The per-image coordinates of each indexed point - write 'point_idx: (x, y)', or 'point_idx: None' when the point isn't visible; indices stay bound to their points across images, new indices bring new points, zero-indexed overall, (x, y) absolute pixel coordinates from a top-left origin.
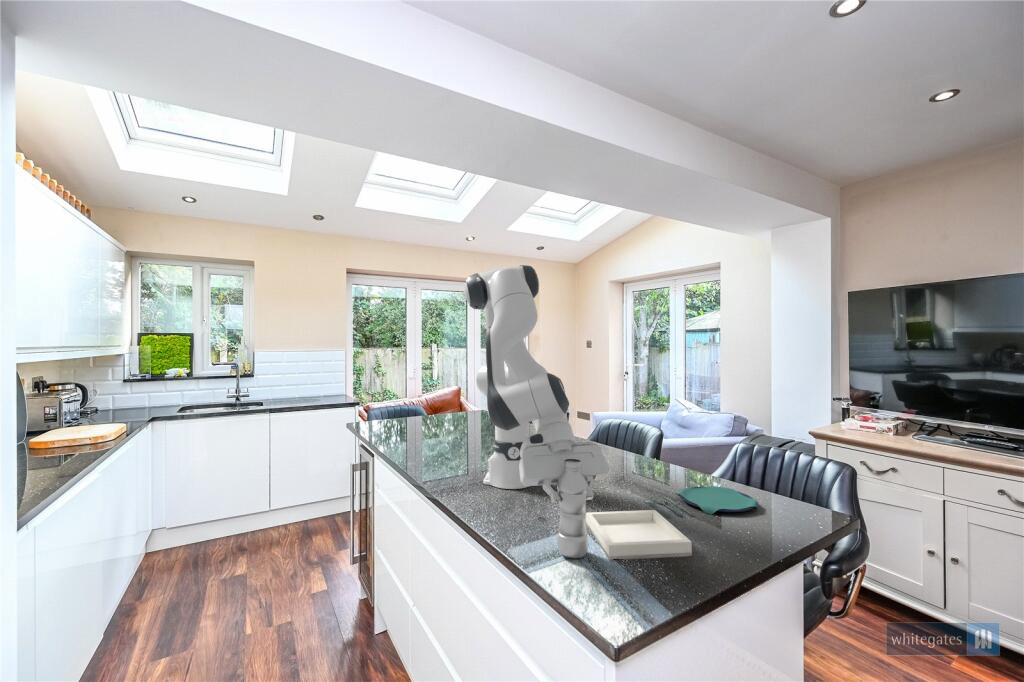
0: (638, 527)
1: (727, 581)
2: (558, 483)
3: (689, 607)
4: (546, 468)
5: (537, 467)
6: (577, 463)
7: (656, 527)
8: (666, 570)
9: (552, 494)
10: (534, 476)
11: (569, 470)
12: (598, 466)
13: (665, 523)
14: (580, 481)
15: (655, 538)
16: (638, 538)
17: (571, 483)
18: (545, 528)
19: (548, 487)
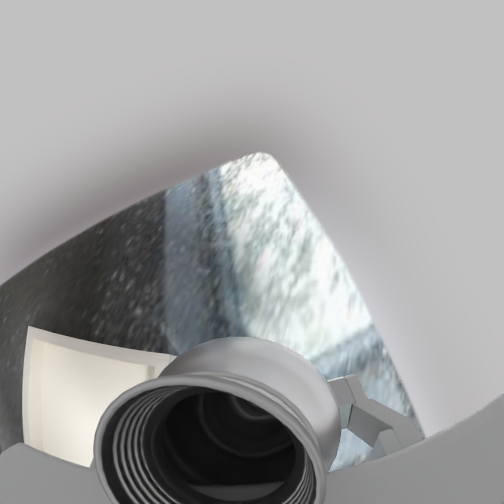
0: (73, 454)
1: (54, 255)
2: (340, 421)
3: (135, 203)
4: (435, 492)
5: (491, 468)
6: (164, 376)
7: (46, 437)
8: (100, 298)
9: (363, 392)
10: (488, 411)
11: (275, 391)
12: (29, 479)
13: (28, 410)
14: (197, 356)
15: (62, 400)
16: (88, 414)
17: (268, 349)
18: None
19: (392, 410)
